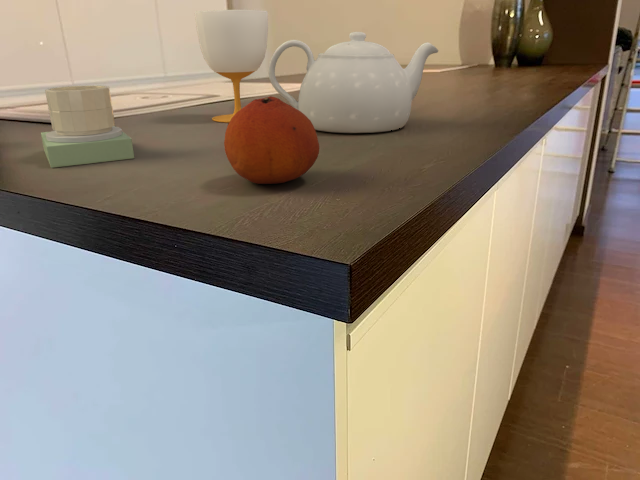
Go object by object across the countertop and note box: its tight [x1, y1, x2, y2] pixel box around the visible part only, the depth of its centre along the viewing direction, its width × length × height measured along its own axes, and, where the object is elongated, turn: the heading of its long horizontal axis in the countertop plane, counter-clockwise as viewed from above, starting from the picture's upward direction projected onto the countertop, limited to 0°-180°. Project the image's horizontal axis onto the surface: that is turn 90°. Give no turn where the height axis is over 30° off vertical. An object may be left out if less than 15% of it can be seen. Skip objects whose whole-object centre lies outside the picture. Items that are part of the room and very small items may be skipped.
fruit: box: [223, 95, 320, 185], centre depth 51 cm, size 9×9×8 cm
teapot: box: [267, 31, 439, 134], centre depth 81 cm, size 19×18×14 cm
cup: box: [194, 9, 269, 124], centre depth 90 cm, size 12×12×17 cm
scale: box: [40, 125, 135, 169], centre depth 65 cm, size 11×9×3 cm
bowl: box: [44, 84, 116, 136], centre depth 63 cm, size 7×7×5 cm
